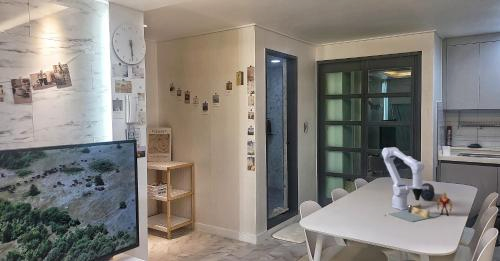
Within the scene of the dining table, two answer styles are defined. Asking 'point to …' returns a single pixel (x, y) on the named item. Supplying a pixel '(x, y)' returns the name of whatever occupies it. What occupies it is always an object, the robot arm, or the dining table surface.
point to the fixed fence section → (417, 206)
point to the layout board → (412, 216)
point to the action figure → (444, 203)
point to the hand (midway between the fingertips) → (417, 200)
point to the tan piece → (420, 211)
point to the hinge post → (410, 208)
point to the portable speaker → (428, 192)
